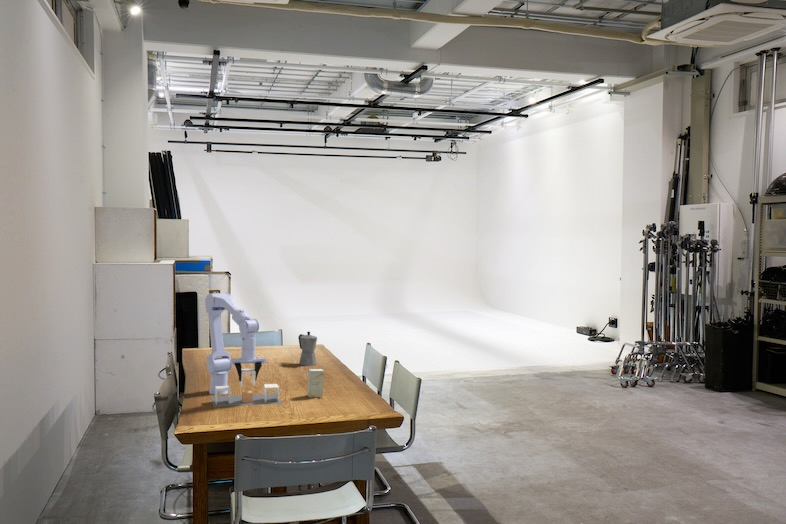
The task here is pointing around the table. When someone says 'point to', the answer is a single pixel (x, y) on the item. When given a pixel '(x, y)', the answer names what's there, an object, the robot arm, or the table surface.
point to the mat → (237, 401)
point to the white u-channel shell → (247, 372)
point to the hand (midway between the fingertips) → (247, 380)
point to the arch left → (222, 388)
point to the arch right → (271, 386)
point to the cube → (247, 396)
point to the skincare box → (315, 382)
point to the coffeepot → (307, 349)
